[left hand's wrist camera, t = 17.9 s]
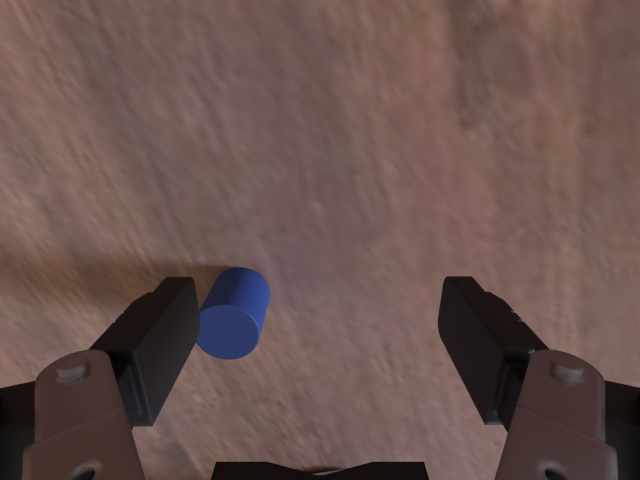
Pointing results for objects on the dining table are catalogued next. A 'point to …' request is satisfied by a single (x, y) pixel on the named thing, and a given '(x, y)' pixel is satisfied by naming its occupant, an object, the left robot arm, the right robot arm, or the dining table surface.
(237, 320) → the can
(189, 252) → the dining table surface
